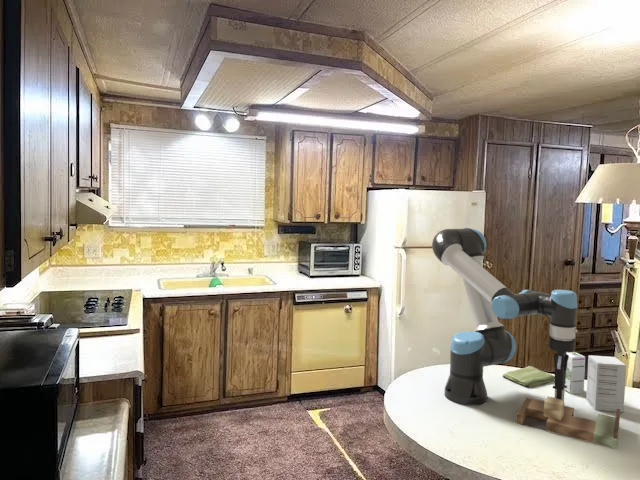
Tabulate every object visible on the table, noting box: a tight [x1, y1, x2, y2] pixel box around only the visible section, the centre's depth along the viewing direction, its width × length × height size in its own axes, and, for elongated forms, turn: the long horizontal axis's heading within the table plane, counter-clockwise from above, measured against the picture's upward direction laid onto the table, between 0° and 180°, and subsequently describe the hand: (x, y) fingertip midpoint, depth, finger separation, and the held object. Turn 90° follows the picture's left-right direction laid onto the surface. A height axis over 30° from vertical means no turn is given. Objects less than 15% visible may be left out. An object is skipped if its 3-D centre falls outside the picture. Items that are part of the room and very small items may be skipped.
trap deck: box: [515, 396, 621, 450], centre depth 152 cm, size 28×16×6 cm, turn 56°
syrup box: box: [564, 351, 586, 395], centre depth 179 cm, size 6×6×14 cm
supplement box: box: [585, 354, 627, 413], centre depth 166 cm, size 10×9×17 cm
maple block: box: [543, 395, 565, 421], centre depth 152 cm, size 5×5×5 cm
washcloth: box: [502, 365, 555, 388], centre depth 191 cm, size 13×18×3 cm
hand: (558, 407), depth 155 cm, fingers closed
